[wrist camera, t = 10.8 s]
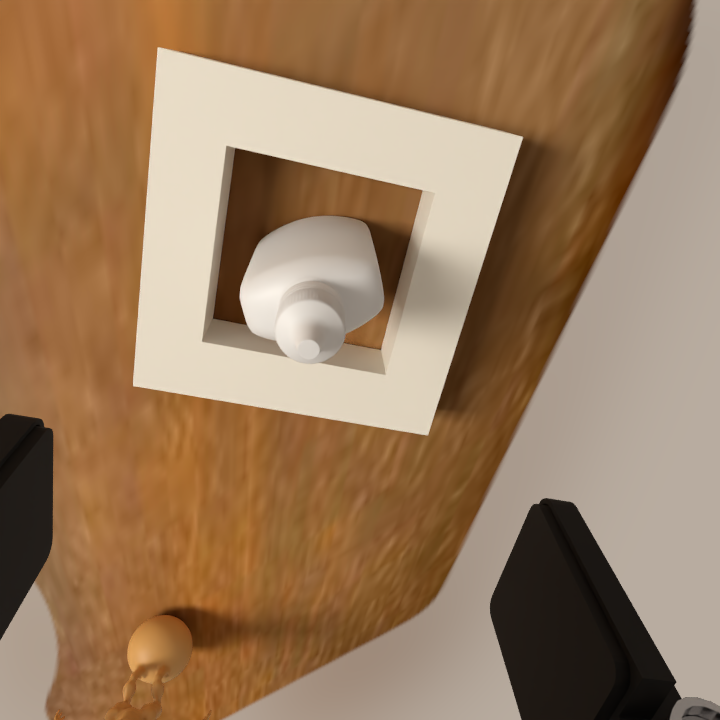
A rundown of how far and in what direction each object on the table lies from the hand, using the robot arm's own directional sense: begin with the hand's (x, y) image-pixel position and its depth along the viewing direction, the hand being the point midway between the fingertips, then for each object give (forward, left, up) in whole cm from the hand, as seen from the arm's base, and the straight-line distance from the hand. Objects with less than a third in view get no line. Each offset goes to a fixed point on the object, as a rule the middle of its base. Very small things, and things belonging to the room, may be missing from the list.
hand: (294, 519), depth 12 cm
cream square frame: (0, 0, -20) cm, 20 cm away
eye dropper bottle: (0, 0, -20) cm, 20 cm away
